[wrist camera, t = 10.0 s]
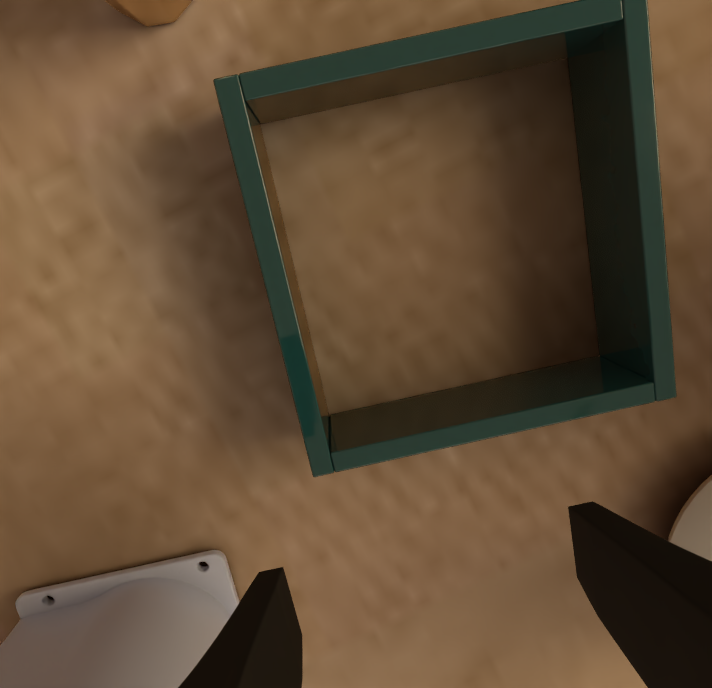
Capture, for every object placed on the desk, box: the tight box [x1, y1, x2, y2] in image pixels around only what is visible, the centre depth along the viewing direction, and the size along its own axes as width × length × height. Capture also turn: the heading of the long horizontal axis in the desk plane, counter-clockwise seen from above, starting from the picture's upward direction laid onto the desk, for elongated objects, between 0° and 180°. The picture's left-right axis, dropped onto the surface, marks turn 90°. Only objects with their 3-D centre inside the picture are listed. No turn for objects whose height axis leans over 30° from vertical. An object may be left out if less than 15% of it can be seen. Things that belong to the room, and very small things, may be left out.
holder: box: [213, 0, 677, 477], centre depth 20 cm, size 14×14×4 cm
